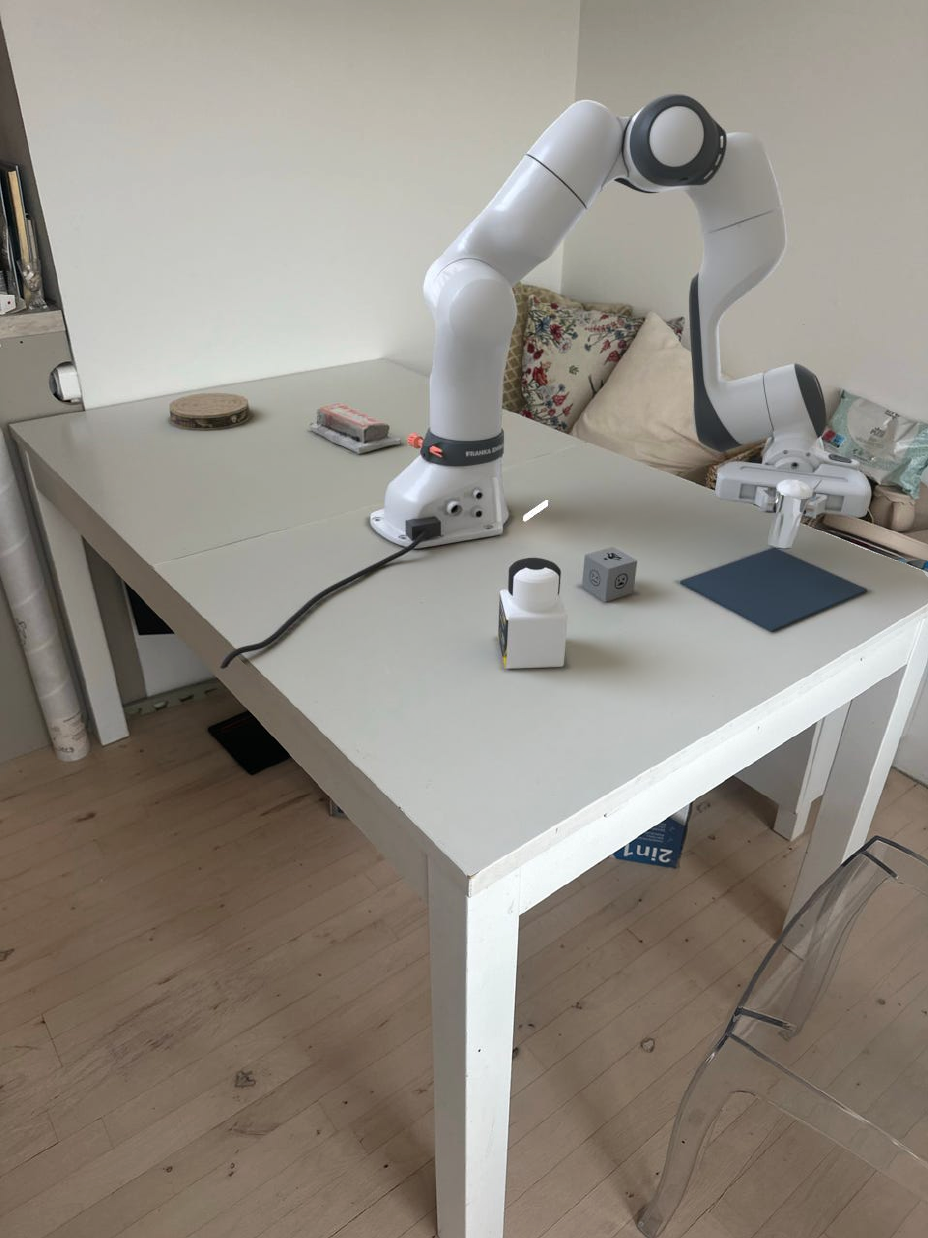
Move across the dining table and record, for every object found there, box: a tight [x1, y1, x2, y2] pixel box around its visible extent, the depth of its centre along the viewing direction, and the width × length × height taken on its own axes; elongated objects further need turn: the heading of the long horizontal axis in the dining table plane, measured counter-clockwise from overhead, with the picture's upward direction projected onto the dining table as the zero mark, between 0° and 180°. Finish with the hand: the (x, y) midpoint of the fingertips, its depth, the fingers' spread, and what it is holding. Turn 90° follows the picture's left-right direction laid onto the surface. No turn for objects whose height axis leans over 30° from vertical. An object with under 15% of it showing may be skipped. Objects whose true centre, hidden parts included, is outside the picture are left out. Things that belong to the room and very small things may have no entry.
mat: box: [679, 547, 868, 633], centre depth 127 cm, size 20×16×1 cm
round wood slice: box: [168, 392, 251, 431], centre depth 188 cm, size 16×16×3 cm
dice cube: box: [581, 546, 638, 603], centre depth 124 cm, size 5×5×5 cm
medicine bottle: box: [497, 557, 569, 670], centre depth 108 cm, size 7×7×12 cm
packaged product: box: [309, 403, 402, 455], centre depth 178 cm, size 18×5×10 cm
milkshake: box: [766, 479, 823, 551], centre depth 121 cm, size 4×5×10 cm
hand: (789, 510), depth 120 cm, fingers closed on milkshake, 4 cm apart
